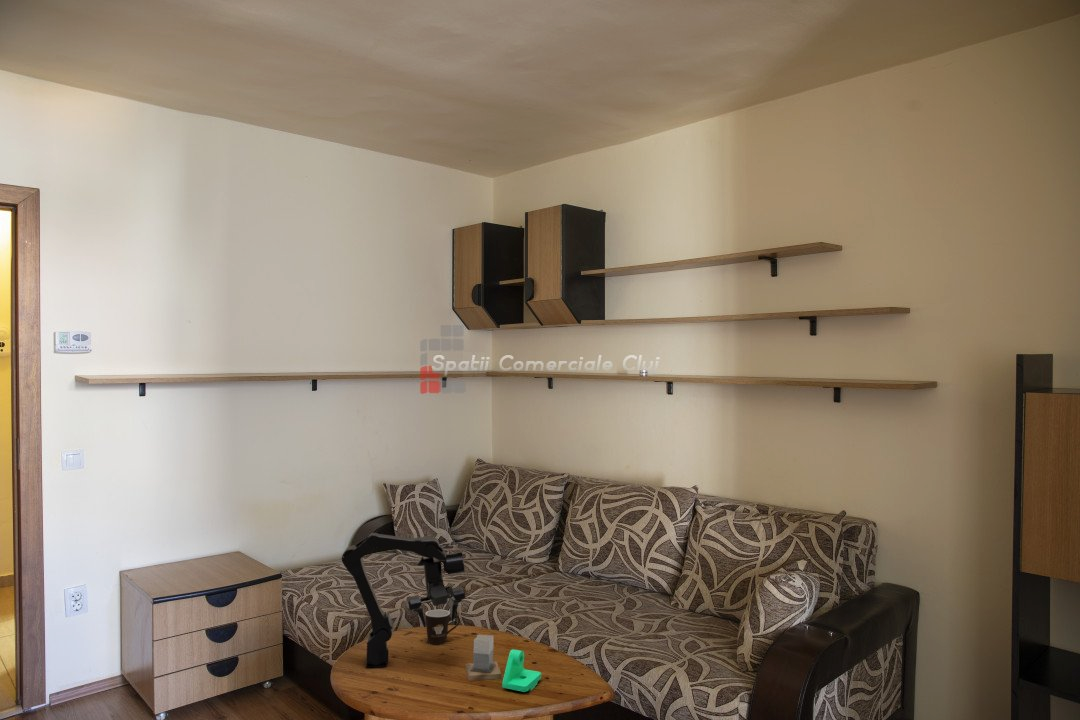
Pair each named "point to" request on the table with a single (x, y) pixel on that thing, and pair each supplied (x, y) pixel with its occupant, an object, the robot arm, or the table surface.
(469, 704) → the table surface
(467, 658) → the table surface
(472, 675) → the stand
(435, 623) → the coffee mug
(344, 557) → the robot arm
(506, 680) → the camera mount
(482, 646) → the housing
